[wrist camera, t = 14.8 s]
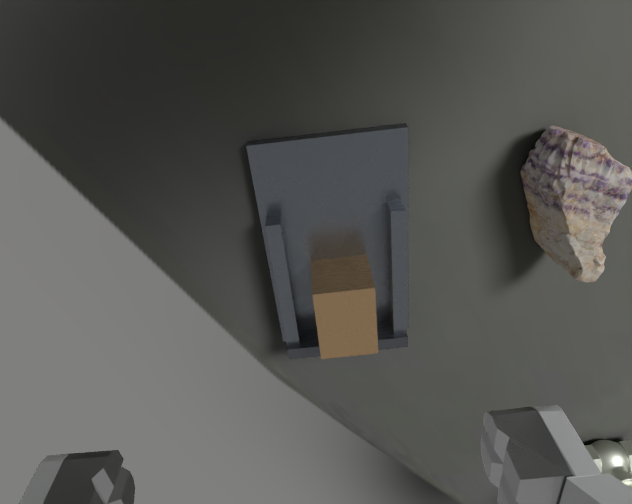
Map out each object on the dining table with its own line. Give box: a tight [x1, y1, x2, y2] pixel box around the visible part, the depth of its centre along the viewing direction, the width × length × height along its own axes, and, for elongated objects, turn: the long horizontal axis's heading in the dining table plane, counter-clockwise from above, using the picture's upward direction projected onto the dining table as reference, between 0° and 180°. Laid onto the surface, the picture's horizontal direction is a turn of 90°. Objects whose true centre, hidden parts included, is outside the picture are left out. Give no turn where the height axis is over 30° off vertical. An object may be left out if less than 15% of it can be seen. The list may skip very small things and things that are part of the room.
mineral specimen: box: [520, 126, 632, 283], centre depth 37 cm, size 13×7×6 cm, turn 22°
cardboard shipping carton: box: [311, 255, 378, 359], centre depth 41 cm, size 5×7×5 cm
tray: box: [246, 124, 409, 359], centre depth 40 cm, size 12×20×4 cm, turn 6°
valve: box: [585, 440, 632, 489], centre depth 53 cm, size 7×7×12 cm
